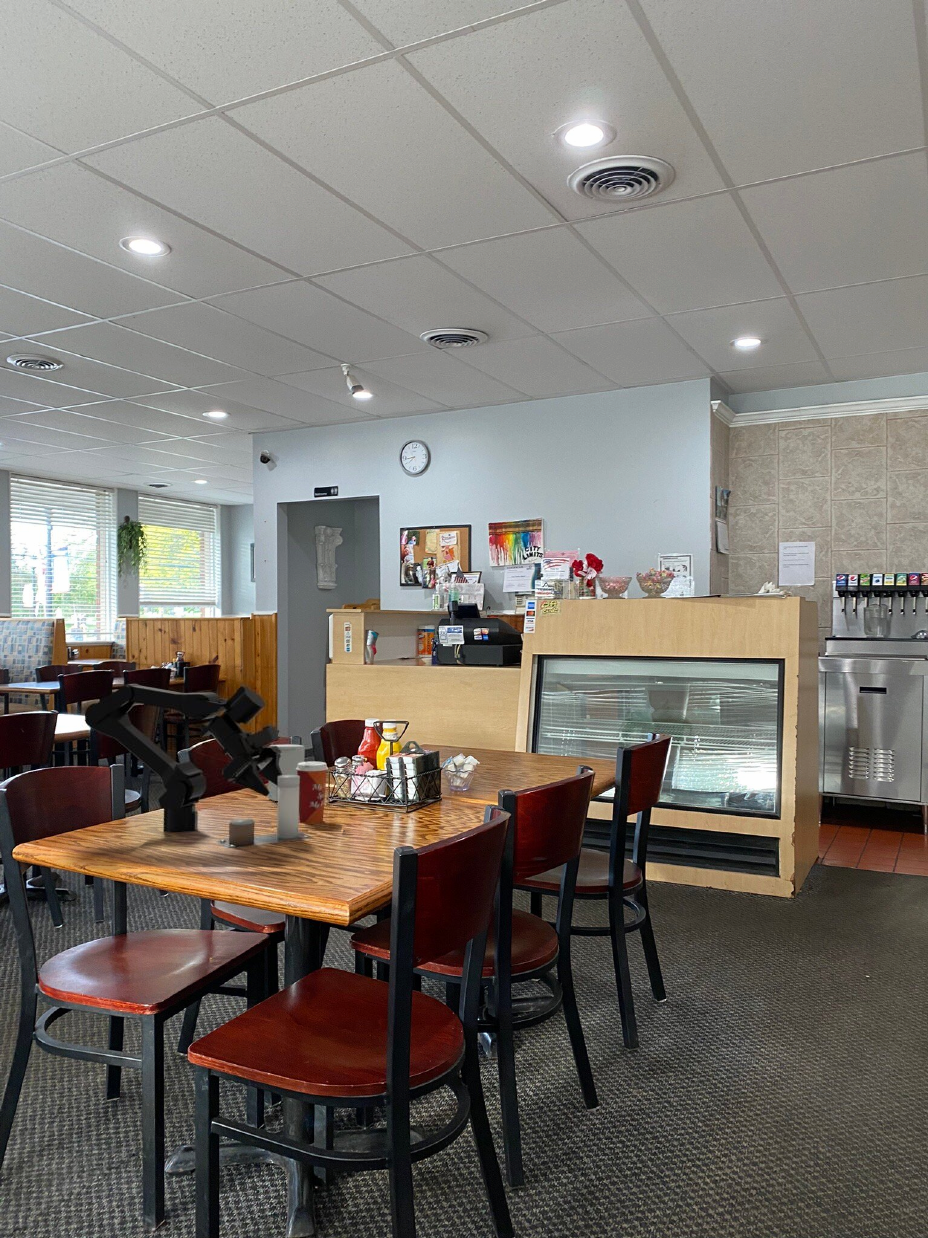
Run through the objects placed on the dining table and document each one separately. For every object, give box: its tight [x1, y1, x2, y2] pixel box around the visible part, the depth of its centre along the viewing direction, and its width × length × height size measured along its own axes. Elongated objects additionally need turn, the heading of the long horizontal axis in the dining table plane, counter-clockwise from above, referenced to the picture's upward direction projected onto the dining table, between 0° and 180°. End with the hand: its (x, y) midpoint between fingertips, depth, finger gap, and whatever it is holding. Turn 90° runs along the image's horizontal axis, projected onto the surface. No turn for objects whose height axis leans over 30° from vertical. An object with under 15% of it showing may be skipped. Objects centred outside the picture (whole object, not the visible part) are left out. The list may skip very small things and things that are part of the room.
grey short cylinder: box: [228, 817, 255, 845], centre depth 188 cm, size 5×5×4 cm
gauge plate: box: [215, 830, 314, 849], centre depth 191 cm, size 19×8×1 cm, turn 125°
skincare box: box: [267, 744, 306, 802], centre depth 244 cm, size 8×6×15 cm
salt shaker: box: [276, 775, 300, 839], centre depth 195 cm, size 5×5×13 cm
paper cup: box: [296, 761, 329, 824], centre depth 215 cm, size 8×8×14 cm
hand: (277, 791), depth 195 cm, fingers open, 9 cm apart
